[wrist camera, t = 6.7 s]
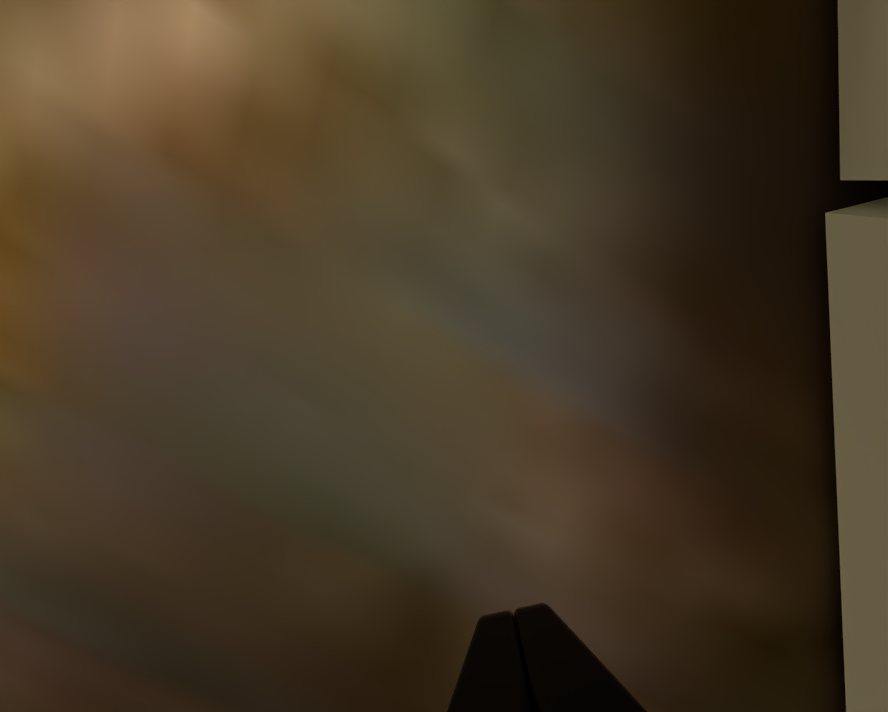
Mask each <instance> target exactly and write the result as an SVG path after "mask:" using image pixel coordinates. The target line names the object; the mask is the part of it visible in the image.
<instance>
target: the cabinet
mask: <svg viewBox="0 0 888 712" xmlns="http://www.w3.org/2000/svg"><path fill="white" fill-rule="evenodd" d="M838 58H839V130H840V180H888V0H838Z"/></svg>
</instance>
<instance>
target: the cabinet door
mask: <svg viewBox="0 0 888 712" xmlns="http://www.w3.org/2000/svg"><path fill="white" fill-rule="evenodd" d="M825 223H826V246H827V270H828V294H829V317H830V341H831V365H832V388H833V412H834V436H835V459H836V483H837V506H838V530H839V554H840V577H841V601H842V625H843V648H844V672H845V696H846V712H888V197H886V198H882V199H878V200H874V201H870V202H866V203H862V204H858V205H854V206H851V207H847V208H843V209H839V210H835V211H831V212H827V213H825Z"/></svg>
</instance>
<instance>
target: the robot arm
mask: <svg viewBox="0 0 888 712" xmlns="http://www.w3.org/2000/svg"><path fill="white" fill-rule="evenodd" d="M514 617H515V619H514ZM515 622H516V623H515ZM447 712H647V711H646V710H645V709H644V708H643V707H642V706H641V705H640V703H639V702H638V701H637V700H636V699H635V698H634V697H633V696H632V695H631V694H630V693H629V692H628V691H627V689H626V688H625V687H624V686H623V685H622V684H621V683H620V682H619V681H618V680H617V679H616V678H615V676H614V675H613V674H612V673H611V672H610V671H609V670H608V669H607V668H606V667H605V666H604V665H603V664H602V662H601V661H600V660H599V659H598V658H597V657H596V656H595V655H594V654H593V653H592V652H591V651H590V650H589V648H588V647H587V646H586V645H585V644H584V643H583V642H582V641H581V640H580V639H579V638H578V637H577V636H576V634H575V633H574V632H573V631H572V630H571V629H570V628H569V627H568V626H567V625H566V624H565V623H564V622H563V620H562V619H561V618H560V617H559V616H558V615H557V614H556V613H555V612H554V611H553V610H552V609H551V608H550V607H549V606H548V605H547V604H544V603H540V604H535V605H531V606H526V607H521V608H518V609H516V610H515V612H514V615H513V613H512V612H510V611H503V612H498V613H493V614H489V615H484V616H482V617H481V618H480V619H479V620H478V623H477V625H476V628H475V631H474V634H473V637H472V640H471V643H470V646H469V649H468V652H467V655H466V657H465V660H464V663H463V666H462V669H461V672H460V675H459V678H458V681H457V684H456V687H455V690H454V692H453V695H452V698H451V701H450V704H449V707H448V710H447Z"/></svg>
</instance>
